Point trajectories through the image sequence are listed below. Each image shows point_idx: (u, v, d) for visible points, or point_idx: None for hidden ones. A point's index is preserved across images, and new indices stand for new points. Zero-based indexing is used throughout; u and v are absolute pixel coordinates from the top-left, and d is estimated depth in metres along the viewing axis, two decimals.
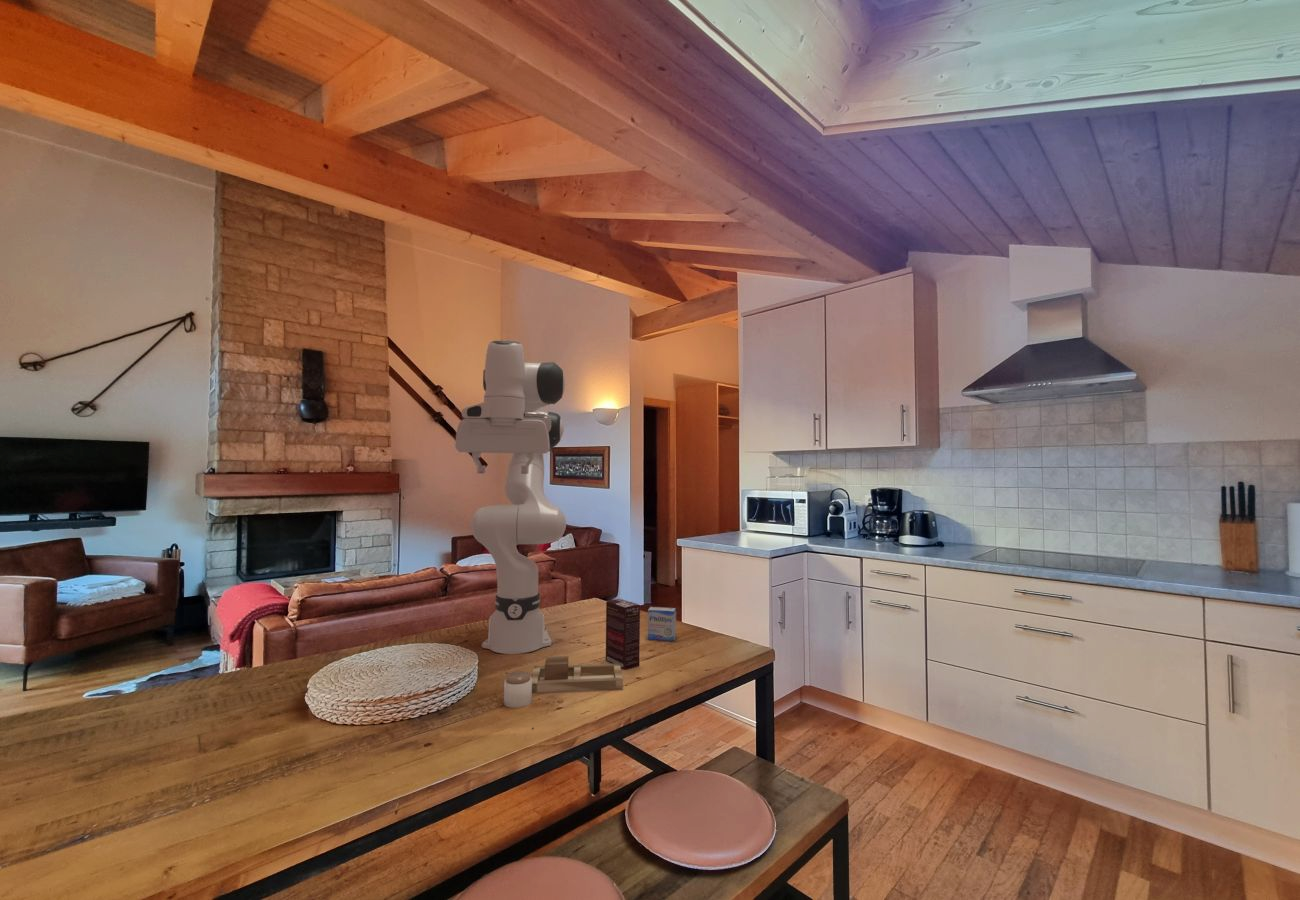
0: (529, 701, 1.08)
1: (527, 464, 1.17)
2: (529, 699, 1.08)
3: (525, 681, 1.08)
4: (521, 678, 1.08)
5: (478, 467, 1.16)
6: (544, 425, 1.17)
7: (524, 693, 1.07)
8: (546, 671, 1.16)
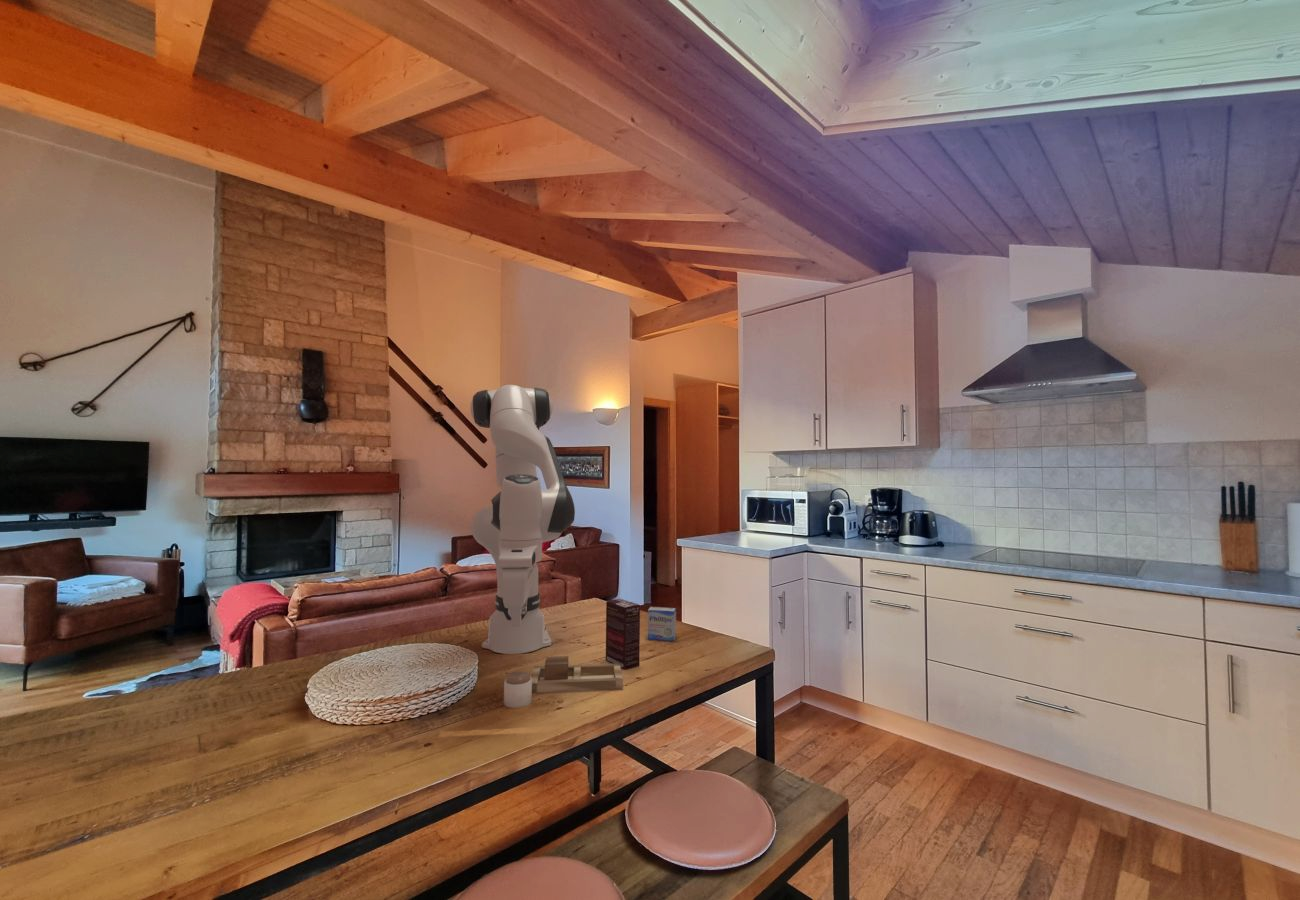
0: (529, 701, 1.08)
1: (526, 603, 1.15)
2: (529, 699, 1.08)
3: (525, 681, 1.08)
4: (521, 678, 1.08)
5: (520, 619, 1.04)
6: None
7: (524, 693, 1.07)
8: (546, 671, 1.16)
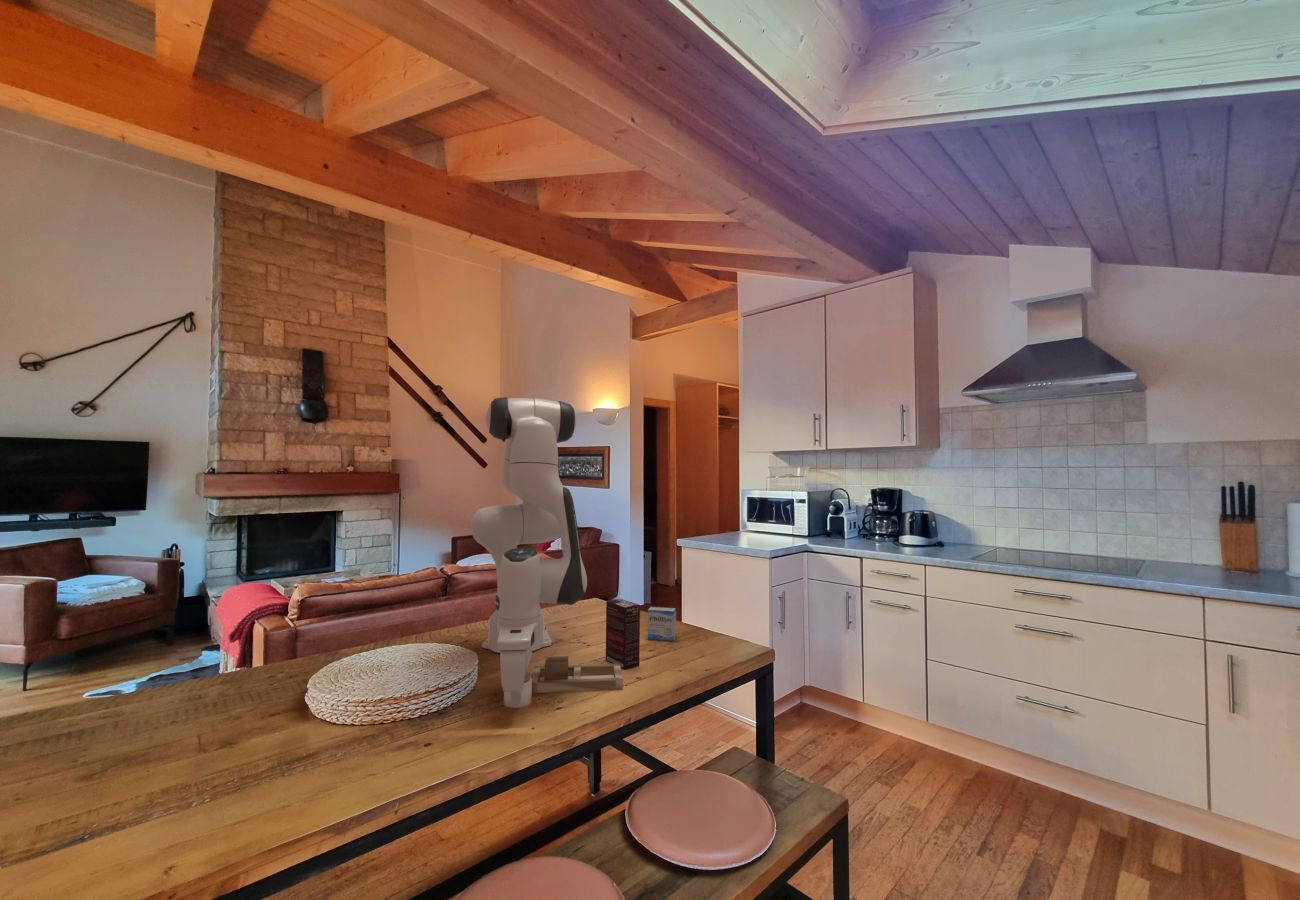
0: (529, 701, 1.08)
1: None
2: (529, 699, 1.08)
3: (525, 681, 1.08)
4: None
5: (520, 697, 1.05)
6: None
7: (524, 693, 1.07)
8: (546, 671, 1.16)
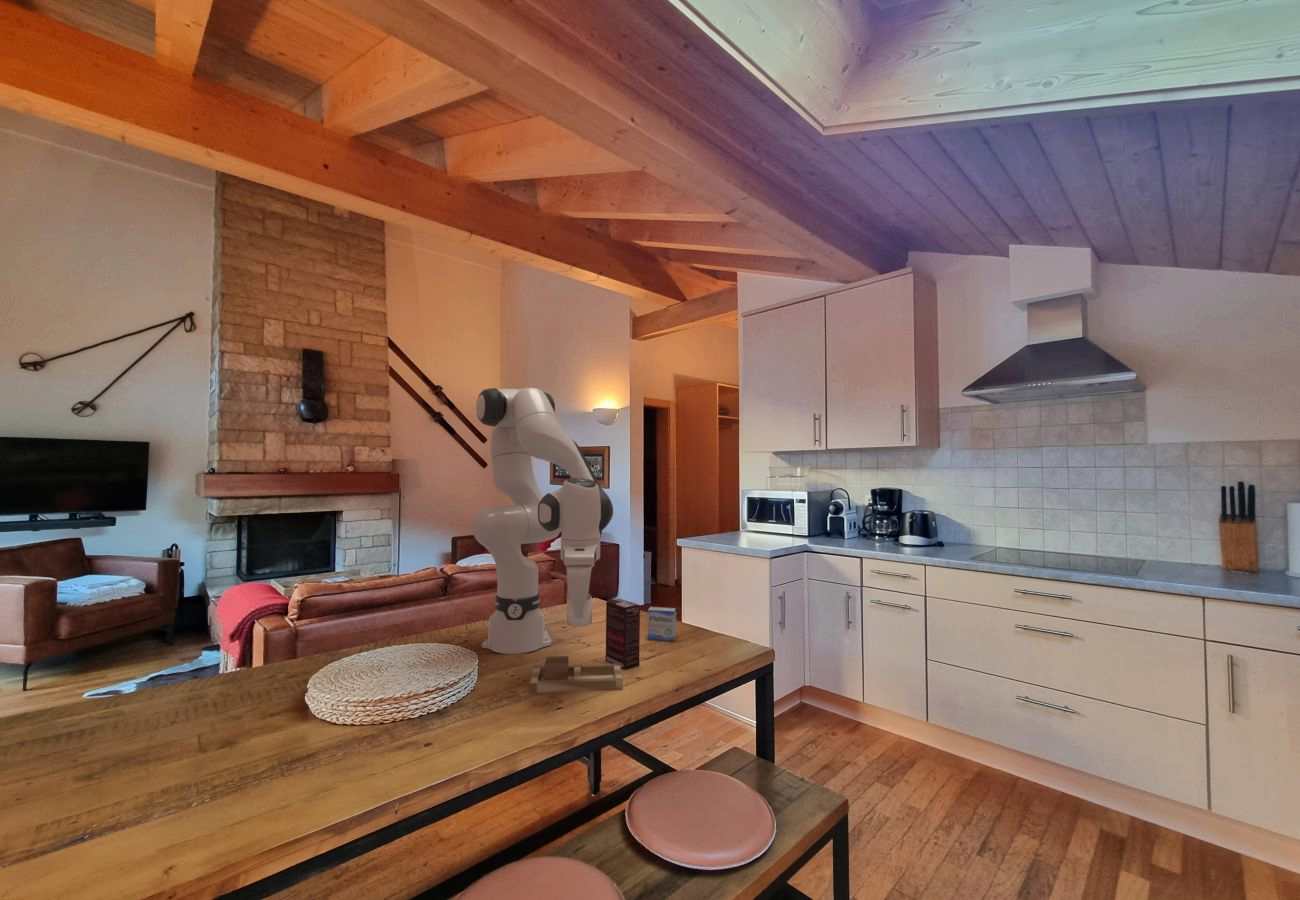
0: (590, 617, 1.17)
1: None
2: (590, 615, 1.17)
3: (587, 599, 1.16)
4: None
5: None
6: None
7: (586, 609, 1.16)
8: (546, 671, 1.16)
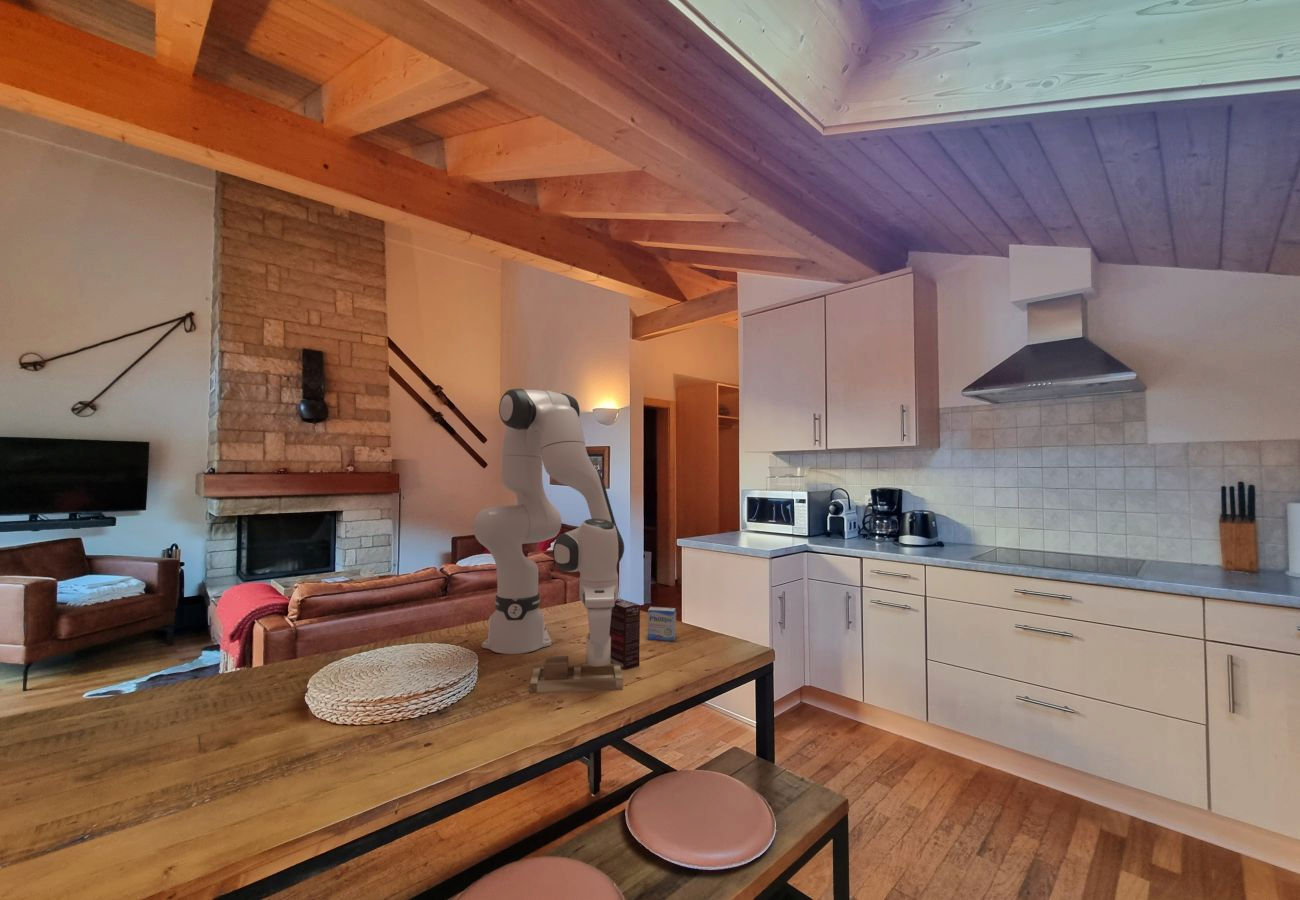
0: (609, 656, 1.19)
1: None
2: (609, 654, 1.19)
3: None
4: None
5: (602, 652, 1.16)
6: None
7: (606, 649, 1.18)
8: (546, 671, 1.16)
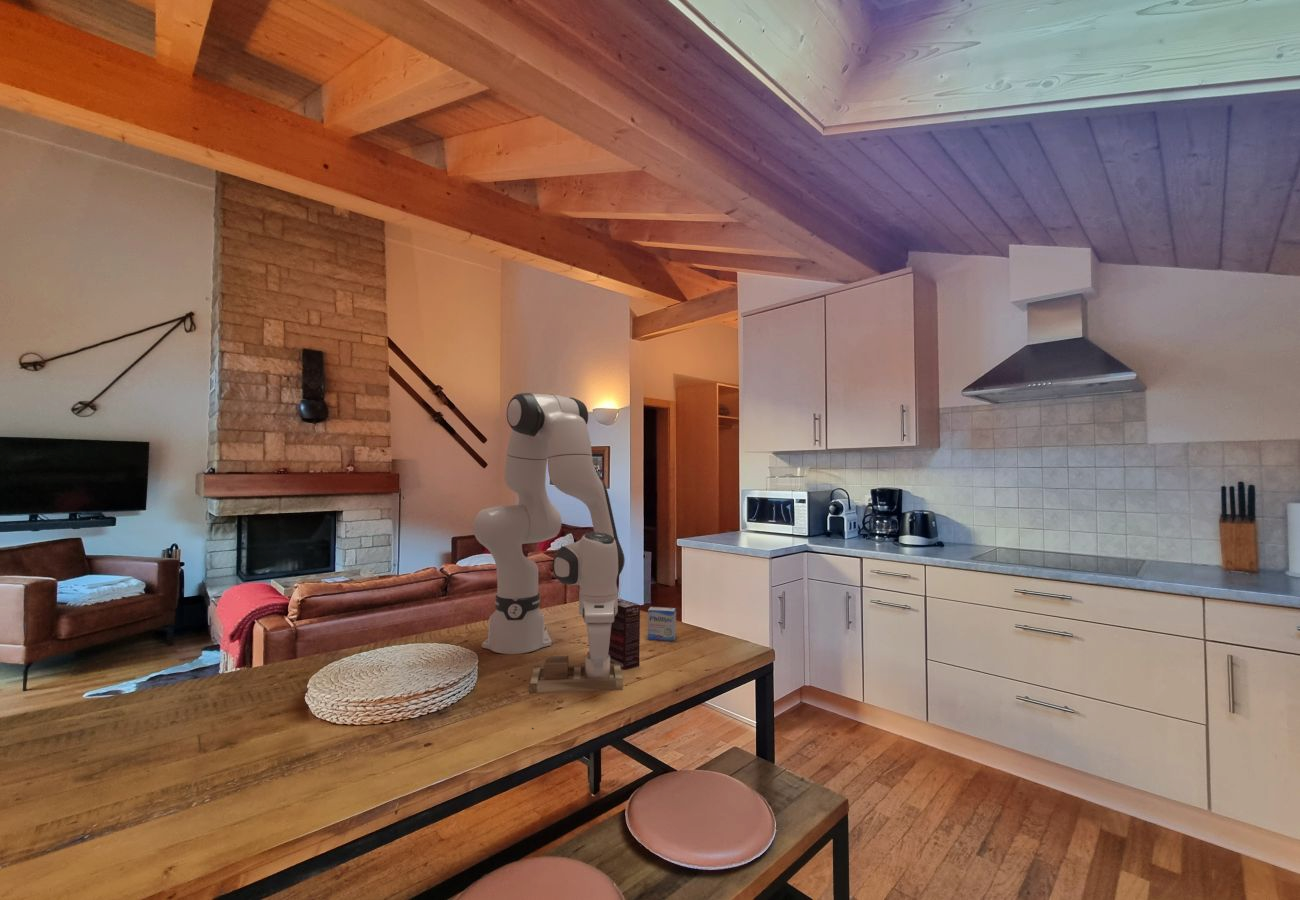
0: (608, 676, 1.19)
1: None
2: (608, 674, 1.19)
3: None
4: None
5: None
6: None
7: (605, 668, 1.18)
8: (546, 671, 1.16)
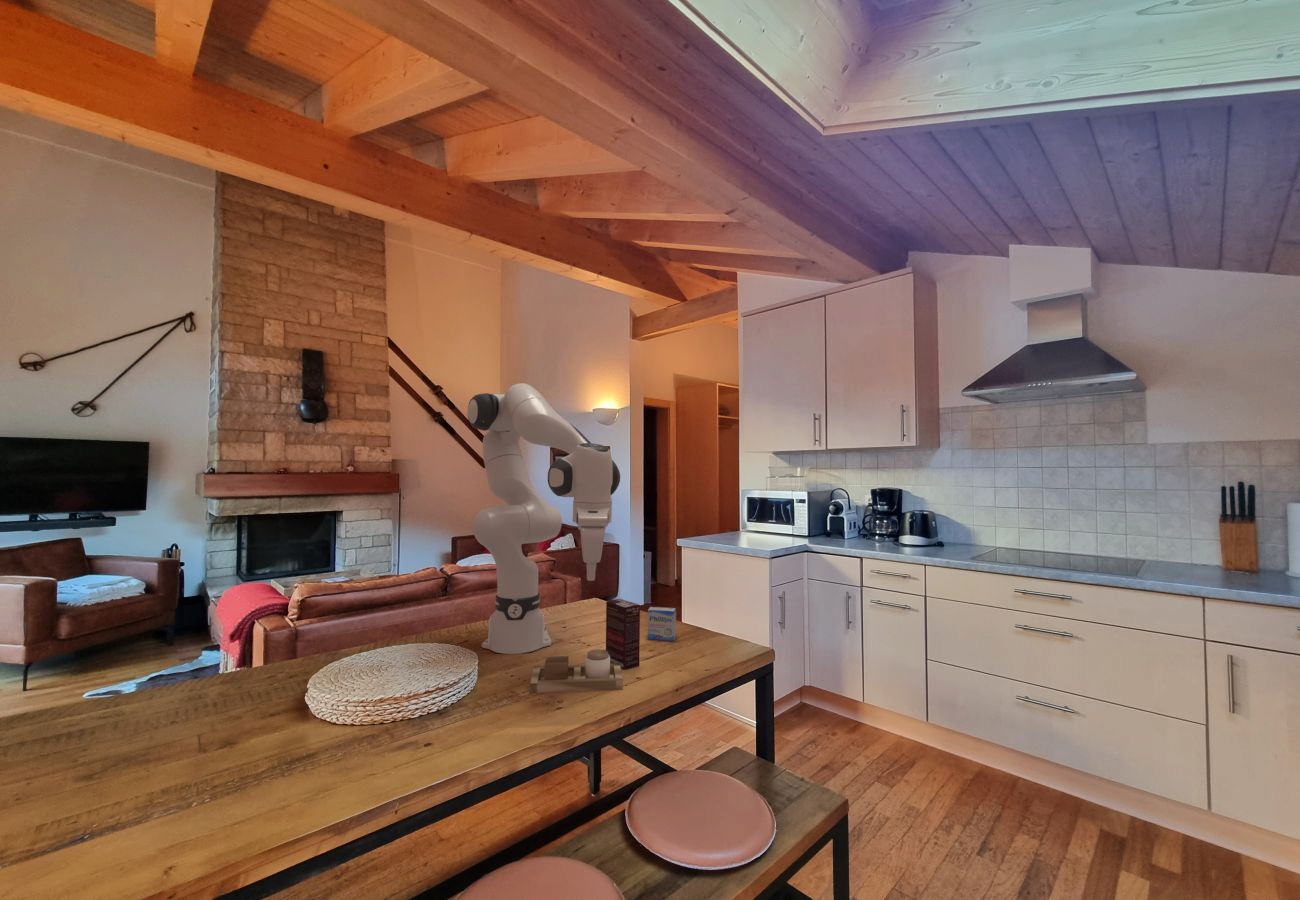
0: (608, 676, 1.19)
1: None
2: (608, 674, 1.19)
3: (605, 658, 1.19)
4: (601, 655, 1.19)
5: None
6: None
7: (605, 668, 1.18)
8: (546, 671, 1.16)
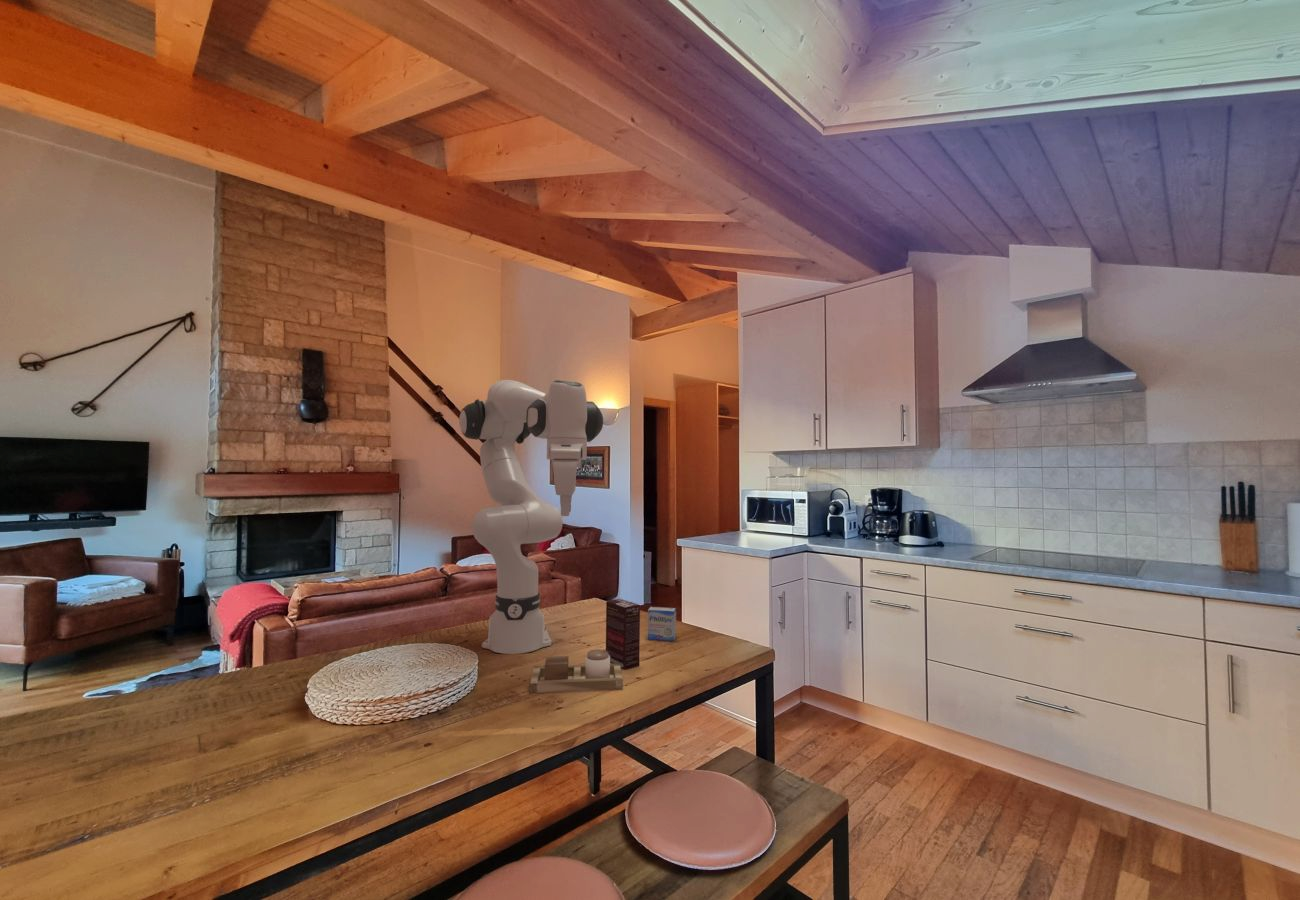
0: (608, 676, 1.19)
1: None
2: (608, 674, 1.19)
3: (605, 658, 1.19)
4: (601, 655, 1.19)
5: (569, 509, 1.12)
6: None
7: (605, 668, 1.18)
8: (546, 671, 1.16)
